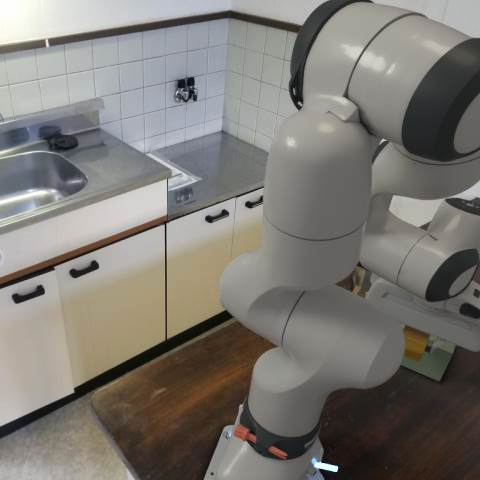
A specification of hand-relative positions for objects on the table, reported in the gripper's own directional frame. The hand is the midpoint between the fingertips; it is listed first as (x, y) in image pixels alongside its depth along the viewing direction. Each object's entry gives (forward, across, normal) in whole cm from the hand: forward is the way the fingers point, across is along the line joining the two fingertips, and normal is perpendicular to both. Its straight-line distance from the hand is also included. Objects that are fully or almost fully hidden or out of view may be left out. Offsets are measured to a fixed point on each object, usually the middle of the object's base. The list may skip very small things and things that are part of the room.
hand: (412, 343), depth 94 cm
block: (+2, 0, 0) cm, 2 cm away
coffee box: (+11, -13, +26) cm, 31 cm away
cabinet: (+11, 0, +12) cm, 17 cm away
